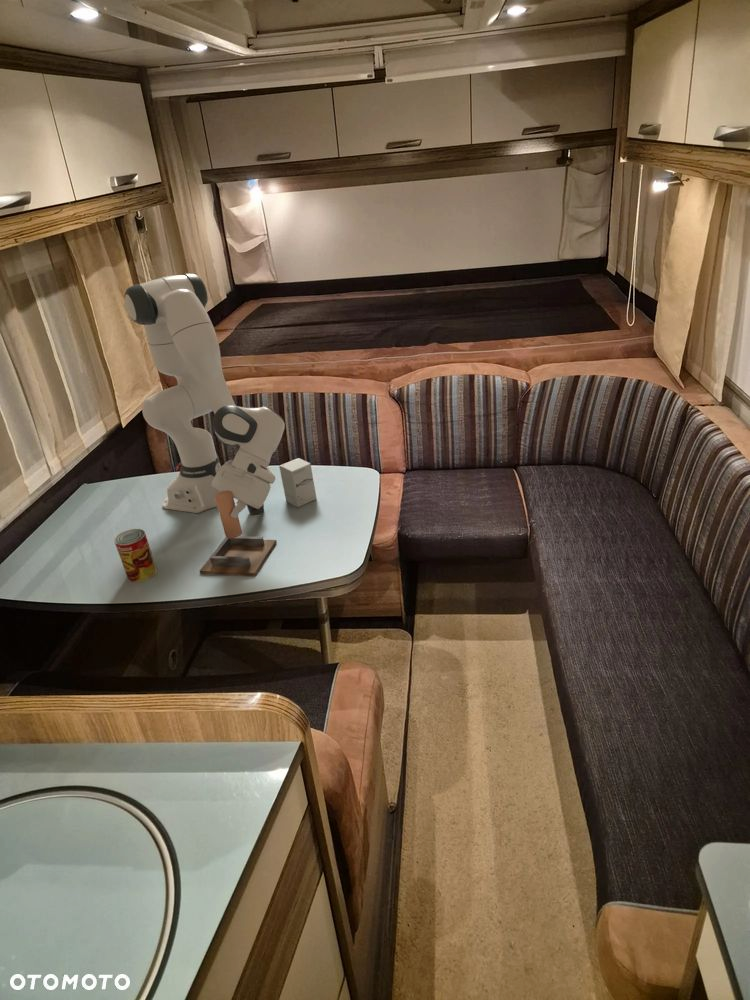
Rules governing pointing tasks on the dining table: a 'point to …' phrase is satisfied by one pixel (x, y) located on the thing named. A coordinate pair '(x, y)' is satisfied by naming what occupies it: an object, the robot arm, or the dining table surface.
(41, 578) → the dining table surface
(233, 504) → the terracotta post
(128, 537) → the canned food
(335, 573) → the dining table surface
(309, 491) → the supplement box
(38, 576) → the dining table surface
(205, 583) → the dining table surface
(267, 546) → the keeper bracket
